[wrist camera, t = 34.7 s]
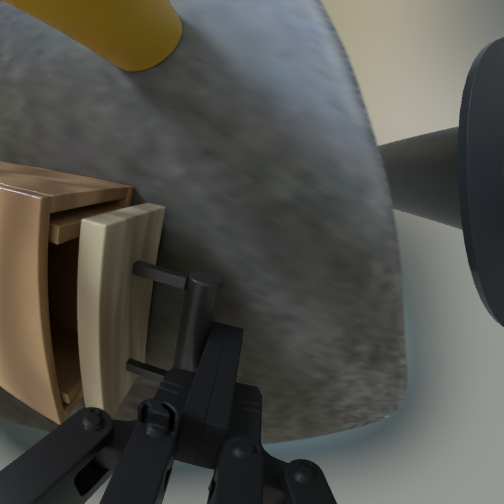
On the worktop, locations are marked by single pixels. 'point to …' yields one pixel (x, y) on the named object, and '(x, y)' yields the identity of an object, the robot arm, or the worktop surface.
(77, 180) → the cabinet
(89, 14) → the pepper mill
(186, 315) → the drawer
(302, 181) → the worktop surface
